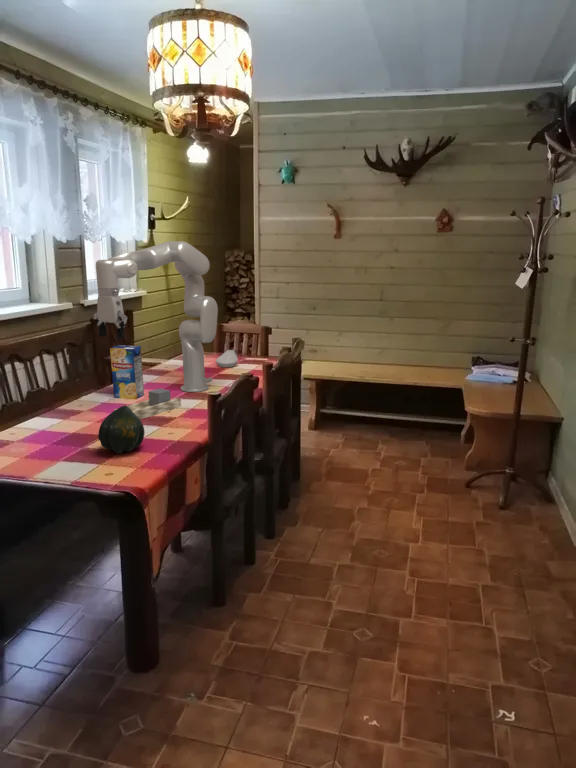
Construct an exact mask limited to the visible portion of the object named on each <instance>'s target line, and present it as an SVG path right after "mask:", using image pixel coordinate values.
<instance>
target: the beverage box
mask: <svg viewBox="0 0 576 768" xmlns="http://www.w3.org/2000/svg"><path fill="white" fill-rule="evenodd" d="M109 351H110V352H109V353H110V362H111V363H110V364H111V376H112V387H113V398H114V399H122V400H123V399H124V400H126V399H127V400H138V399H141V398H142V397H144V396H145V389H144V386H145V385H144V375H143V361H142V360H143V358H142V357H143V356H142V346H141V345H124V344H123V345H120V344H118V345H115V346H112V347H109ZM143 395H144V396H143Z"/></svg>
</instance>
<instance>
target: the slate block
mask: <svg viewBox="0 0 576 768" xmlns="http://www.w3.org/2000/svg"><path fill="white" fill-rule="evenodd" d="M148 400H149V405H150V406H153V405H157V404H160V403H164V402H167V401H170V400H172V399H171V390H169V389H164V388H157V389H152V390H149V391H148Z"/></svg>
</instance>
